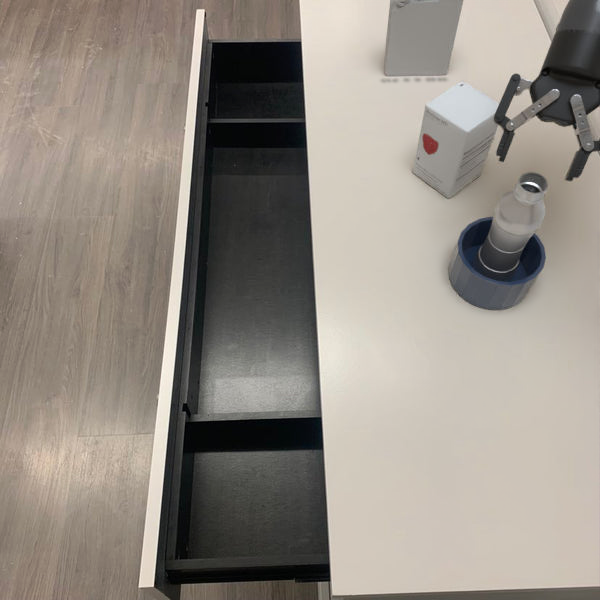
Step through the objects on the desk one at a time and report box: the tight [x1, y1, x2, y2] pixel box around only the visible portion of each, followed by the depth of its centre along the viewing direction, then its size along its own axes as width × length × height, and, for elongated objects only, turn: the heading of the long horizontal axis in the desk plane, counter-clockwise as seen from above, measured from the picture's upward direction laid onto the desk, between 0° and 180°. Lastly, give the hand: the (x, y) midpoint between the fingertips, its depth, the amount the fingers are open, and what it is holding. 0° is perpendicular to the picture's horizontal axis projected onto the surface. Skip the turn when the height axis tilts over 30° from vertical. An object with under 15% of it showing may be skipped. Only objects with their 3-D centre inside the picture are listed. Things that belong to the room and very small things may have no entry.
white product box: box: [412, 80, 500, 199], centre depth 89 cm, size 9×9×15 cm
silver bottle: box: [473, 171, 549, 282], centre depth 74 cm, size 6×7×20 cm
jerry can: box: [383, 0, 464, 77], centre depth 100 cm, size 15×5×25 cm, turn 88°
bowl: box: [448, 216, 547, 311], centre depth 80 cm, size 12×12×7 cm
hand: (534, 171), depth 68 cm, fingers open, 8 cm apart
